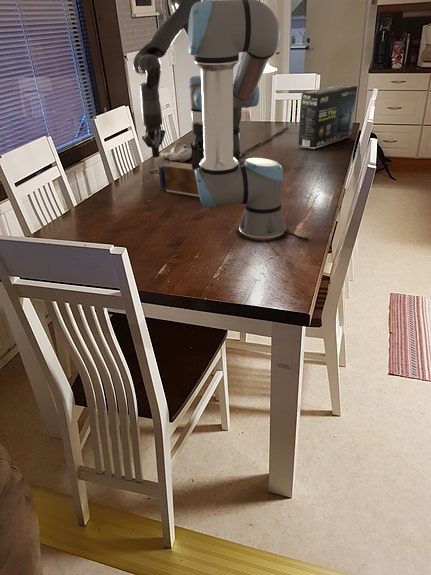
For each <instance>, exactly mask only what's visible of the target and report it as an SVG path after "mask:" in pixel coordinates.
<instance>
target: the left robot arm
mask: <svg viewBox="0 0 431 575" xmlns="http://www.w3.org/2000/svg"><path fill="white" fill-rule="evenodd" d="M202 1H203V0H169V2H170V6H171V9H172V11H173V13H172V14H171V15H170V16H168V18H167V19H165V21H164V22H163V23H162V24H161V25H160V26H159V27H158V28H157V29H156V31H155V32H154V33H153V34H152V37H151V38H150V40H149V42H148V43H146V44H145V45H144V46H143V47H142V48H141V49H140V50H139V51H138V52H137V53H136V54H135V56H134V58H133V62H132V67H133V71H134V72H135V73H136V74H137V75H139V76H146V80H145V81H144V82H142V83H141V84H139V93H140V106H141V107H140V109H141V117H142V118H141V119H142V124H143V126H144V127H145V131H144V132H145V134H144V135H142V136H141V139H142V141H143V142H144V144H145V145H146V147H148V148H151V155H152V157H153V158H155V159H156V158H159V157H160V147H161V146H162V145H163V142H164V138H165V134H166V130H164V129H162V126H161V125H163V114H162V113H163V112H162V104H161V99H160V89H159V87H160V82H161V75H162V64H161V63H162V62H161V60H160V58H163V57H164V56H165V55H166V54H167V52H168V51H169V49H170V48H171V46H172V44H173V43H174V41H175V40H176V38H177V37H178V35H179V34H180V33H181V31H182V30H183V31H184V33H185V35H186V38H188V26H189V17H190V11H191V8H192V6H193V5H194V4H195V3H197V2H202ZM242 110H243V108H233V156H234V157H235V158H236V159H237V160H238V166H240V165H241V158H242V157H243V155H244V154H245V153H246V152H248V151H249V150H251V149H253V148H254V147H256V146H258V145H257V143H255V144H256V145H255V144H253V145H254V146H253V145H251V146H252V147H251V146H250V147H251V148H249V147H248V148H249V149H248V148H246V149H247V150H246V149H245V150H246V151H244V150H243V151H244V152H243V151H242V152H243V153H242V152H241V146H240V145H241V139H240V138H241V135H240V134H241V133H240V131H241V130H240V127H241V126H240V124H241V120H242ZM160 145H161V146H160Z"/></svg>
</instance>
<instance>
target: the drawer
mask: <svg viewBox="0 0 431 575" xmlns="http://www.w3.org/2000/svg"><path fill="white" fill-rule="evenodd" d="M167 164H168V163H164V164H161V165H160V166H158V168H157V167H154V168H152V169H150V170H149V175H153V174H156V175H159V183H160V188H161V189H166V182H165V171H164V166H165V165H167Z"/></svg>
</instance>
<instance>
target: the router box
mask: <svg viewBox="0 0 431 575" xmlns="http://www.w3.org/2000/svg"><path fill="white" fill-rule="evenodd" d="M357 93H358V86H356V85H350V84H339V85H338V84H337V85H334V86H328V87H324V88H318V89H314V90H309V91H304V92H301V93H300V109H299V110H300V111H299V124H298V137H297V146H298V145H302V146H307V147H317V146H320V145H323V144H325V143H328V142H331V141H333V140H336V139H338V138H341V137H344V136H347V135H351V136H352V133H353V132H352V131H353V125H354V115H355V109H356V99H357ZM311 151H313V150H312V149H311Z"/></svg>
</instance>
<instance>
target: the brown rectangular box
mask: <svg viewBox="0 0 431 575" xmlns="http://www.w3.org/2000/svg"><path fill="white" fill-rule="evenodd" d="M166 164H167V165H165V166H164V171H165V182H166V187H165V191H166V192H167V193H173V194H179V195H184V196H185V195H186V196H192V197H197V198H200V197H199V193H198V188H197V183H196V178H195V170H194V169H192V163H187V162H186V163H185V162H178V161H171V162H170V163H166Z"/></svg>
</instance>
